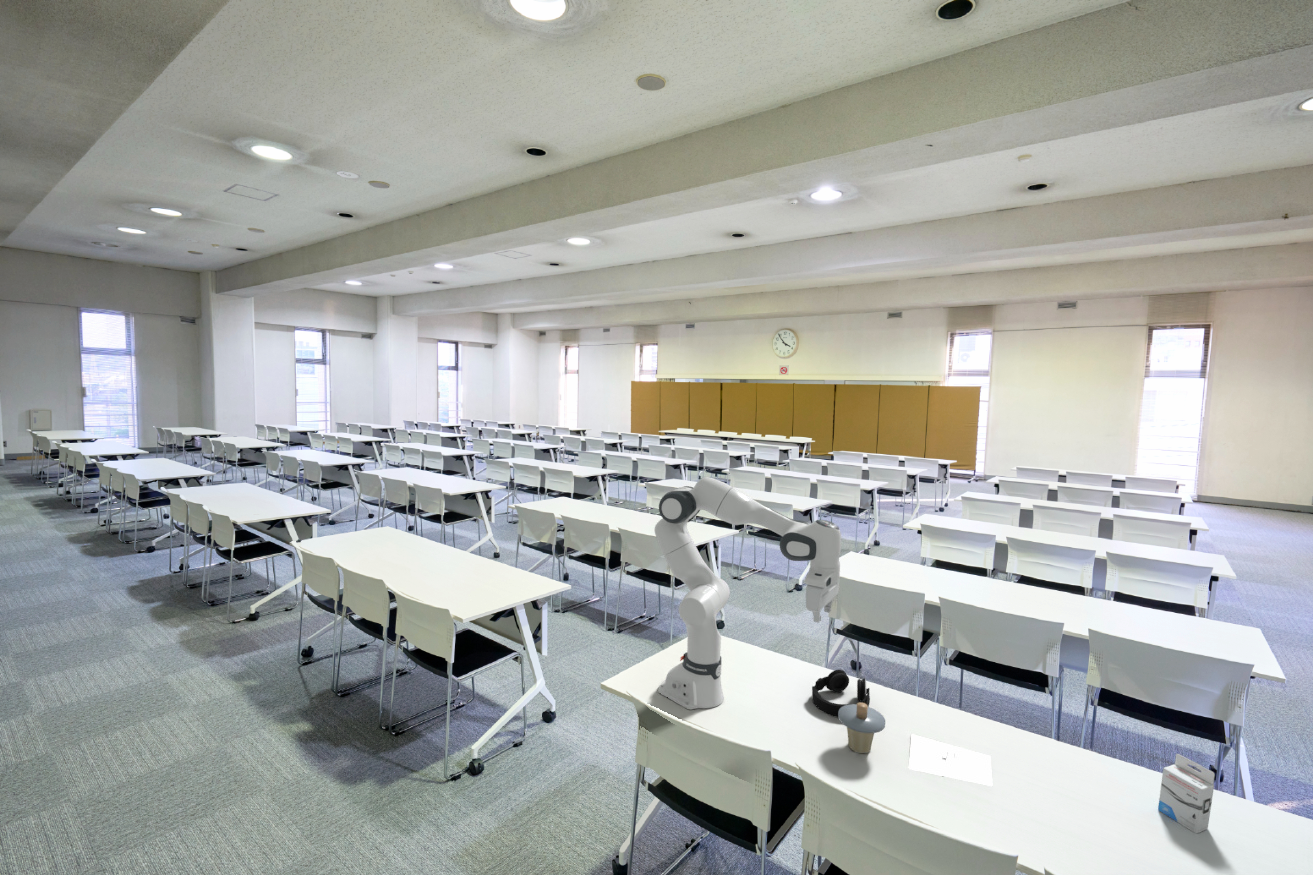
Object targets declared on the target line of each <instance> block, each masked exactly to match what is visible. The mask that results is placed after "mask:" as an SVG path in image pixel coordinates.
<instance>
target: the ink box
mask: <svg viewBox="0 0 1313 875" xmlns="http://www.w3.org/2000/svg"><path fill="white" fill-rule="evenodd" d="M1189 765H1190V766H1189ZM1191 766H1193V767H1195V768H1196V769H1198V770H1199V771H1198V770H1196V769H1194V768H1193V767H1191ZM1161 776H1162V777H1161V785H1160V791H1159V792H1160V793H1159V798H1158V804H1157V805H1158V807H1157V810H1158V811H1159V812H1161V813H1162V814H1163V815H1166V816H1167V817H1169V818H1170V819H1172V820H1173V821H1175V822H1177V823H1178V824H1180V825H1181V826H1183V827H1185V829H1188V830H1190V831H1192V832H1193V833H1195V834H1199V833H1201V832H1204V831H1206V830H1207V829H1209V823H1210V816H1211V809H1212V805H1213V804H1212V802H1213V796H1214V790H1215V783H1214V782H1215V777H1216V776H1215V772H1214V771H1212V770H1210V769H1208V768H1206V767H1204V766H1203V765H1201V764H1199V763H1197V762H1196V761H1193V760H1190V759H1189V758H1187V757H1185V756H1183V755H1181V754H1180V753H1175V762H1174V764H1171V765H1167V766H1165V767H1163V770H1162V775H1161Z"/></svg>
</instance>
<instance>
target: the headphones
mask: <svg viewBox="0 0 1313 875" xmlns="http://www.w3.org/2000/svg"><path fill="white" fill-rule="evenodd" d="M849 684H850V678H849V675H847V672H846V671H844V670H842V669H834V670H833V671H831V672H830V673H829V674H828V675H827V676H824V677H819V678H818V679H817V680H816V681H815V685H814V686H813V685H812V686H811V694H812V695H811V696H812V703H813V706H814V707H815V708H816V709H817V710H819V712H822V713H823V714H826V715H828V716H831V717H835V718H838V712H839V709H840V708H841V707H843V706H845V705H850V704H851V703H845V704H843V703H842V704H841V703H835V702H831V701H829V700H826V699H825V698H824V697H823V696H822V695H821V693H819V691H823V689H824V688H826V689H827V690H829V691H831V692H832V693H837V694H838V693H841V692H843V691H845V690H846V689H847V688H848V686H849ZM856 687H857V688H856V691H857V692H856V696H857V697H856V698H857V702H858V703H865V704H867V706H868V707H870V706H869V705H870V702H871V696H870V687H868V688H867V680H866V678H862V679H861V678H858V679H857V684H856Z"/></svg>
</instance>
